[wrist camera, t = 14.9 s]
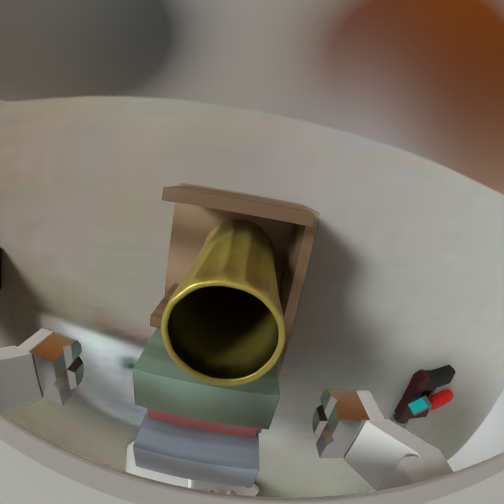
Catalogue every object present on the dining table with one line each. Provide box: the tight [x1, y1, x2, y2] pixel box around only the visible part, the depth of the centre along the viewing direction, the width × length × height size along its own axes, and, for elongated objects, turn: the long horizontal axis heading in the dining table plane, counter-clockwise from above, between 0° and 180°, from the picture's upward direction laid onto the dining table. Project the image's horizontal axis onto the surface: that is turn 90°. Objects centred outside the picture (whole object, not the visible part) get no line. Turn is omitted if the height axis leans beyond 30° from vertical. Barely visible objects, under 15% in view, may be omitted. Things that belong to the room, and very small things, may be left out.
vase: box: [161, 219, 285, 386], centre depth 19 cm, size 6×6×14 cm
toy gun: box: [391, 365, 455, 428], centre depth 31 cm, size 10×12×5 cm
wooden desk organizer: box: [133, 184, 320, 488], centre depth 21 cm, size 21×11×15 cm, turn 169°
